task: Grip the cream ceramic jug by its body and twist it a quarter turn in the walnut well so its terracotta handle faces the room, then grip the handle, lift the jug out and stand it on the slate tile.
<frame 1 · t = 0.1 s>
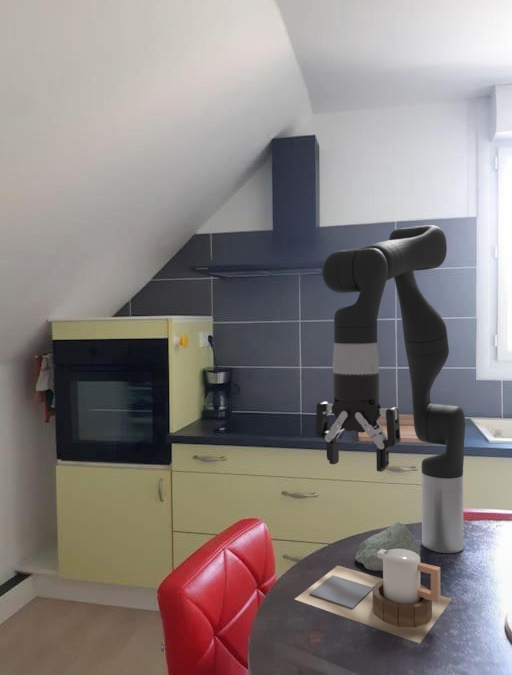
hand: (356, 466, 90), 29 cm above the table, tool pointing down, fingers open, 8 cm apart
decorative stone: (387, 569, 117), on the table
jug: (401, 611, 97), point 1 cm above the table, touching serving board
serving board: (373, 605, 101), on the table
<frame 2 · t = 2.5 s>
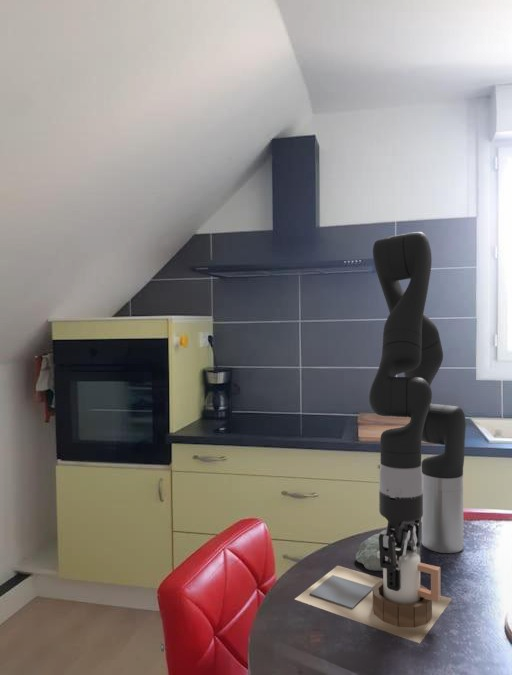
hand: (401, 581, 97), 7 cm above the table, tool pointing down, fingers closed on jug, 6 cm apart
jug: (401, 611, 97), point 1 cm above the table, touching gripper, serving board
everything else where it was.
when the fingers open (7 cm above the table, at t = 5.8 s): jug stays where it is, resting on serving board.
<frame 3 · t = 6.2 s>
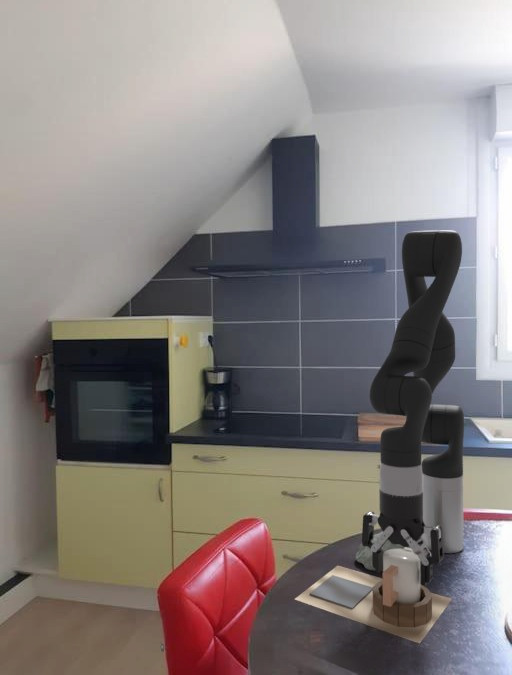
hand: (401, 577, 97), 7 cm above the table, tool pointing down, fingers open, 8 cm apart
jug: (401, 611, 97), point 1 cm above the table, touching serving board
everything else where it was.
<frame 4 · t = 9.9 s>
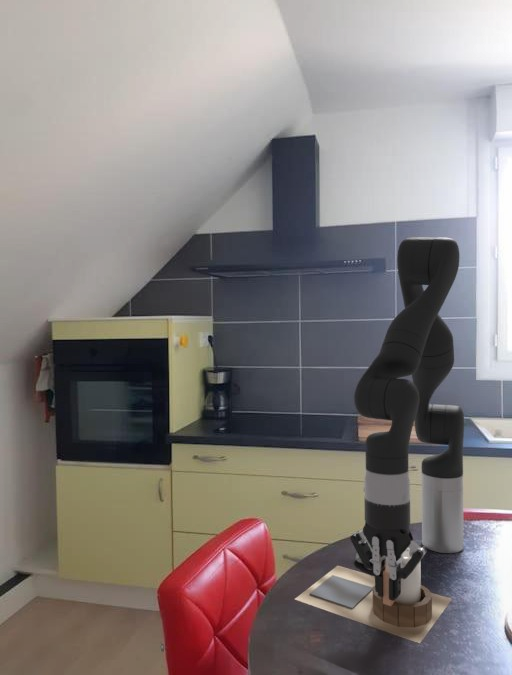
hand: (387, 596, 92), 7 cm above the table, tool pointing down, fingers closed on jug
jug: (402, 611, 97), point 1 cm above the table, touching gripper
everything else where it was.
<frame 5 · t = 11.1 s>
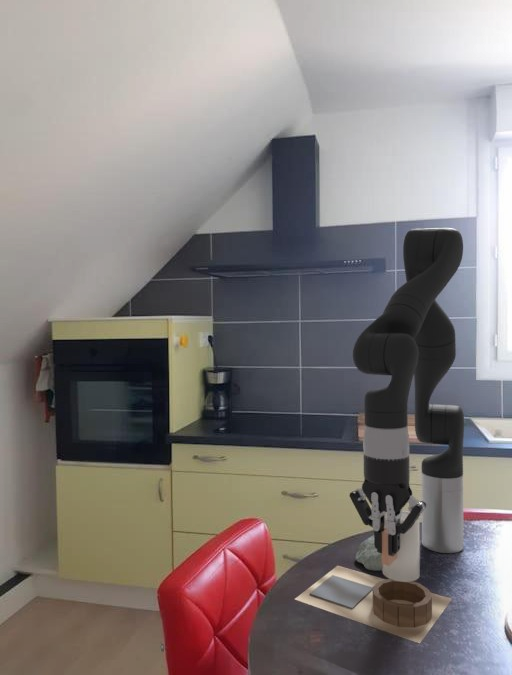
hand: (387, 552, 92), 14 cm above the table, tool pointing down, fingers closed on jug
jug: (400, 573, 97), point 8 cm above the table, touching gripper
everything else where it was.
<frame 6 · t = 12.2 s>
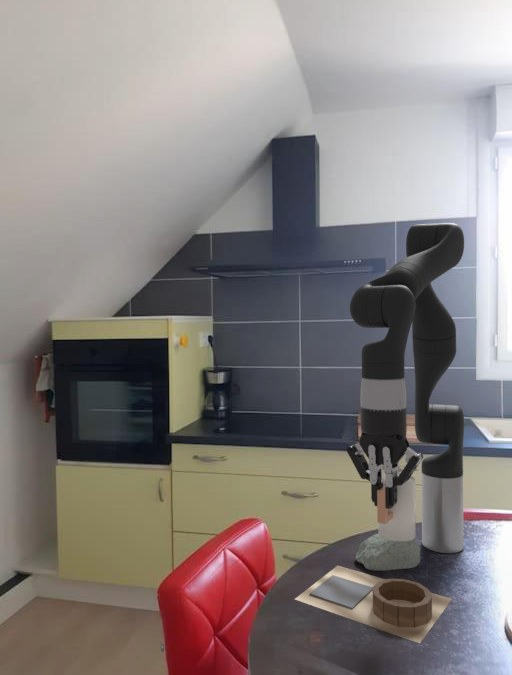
hand: (384, 505, 92), 22 cm above the table, tool pointing down, fingers closed on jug
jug: (396, 534, 96), point 15 cm above the table, touching gripper
everything else where it was.
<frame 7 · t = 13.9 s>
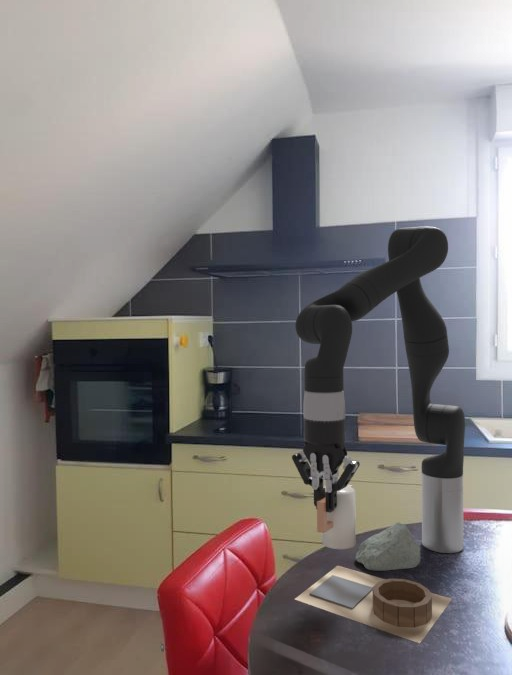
hand: (325, 509, 99), 19 cm above the table, tool pointing down, fingers closed on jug
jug: (338, 542, 103), point 11 cm above the table, touching gripper
everything else where it was.
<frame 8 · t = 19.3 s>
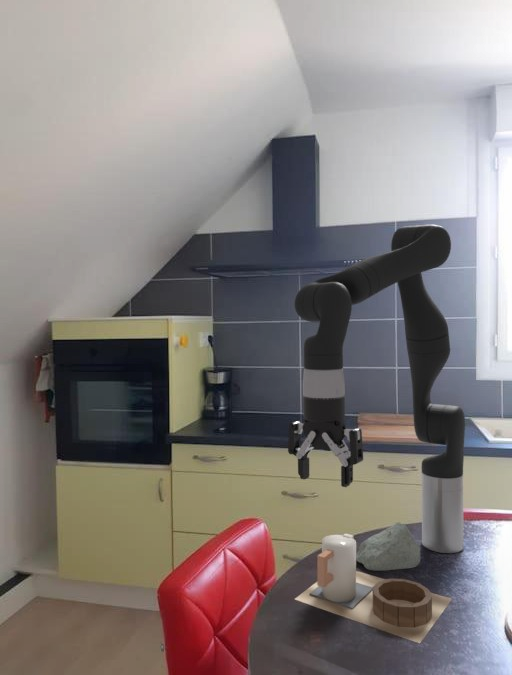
hand: (324, 482, 98), 24 cm above the table, tool pointing down, fingers open, 8 cm apart
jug: (338, 593, 103), point 2 cm above the table, touching serving board
everything else where it was.
at the end: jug inside the target area (1.4 cm from its centre), point 1.5 cm above the table; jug tilted 1°; the gripper is holding nothing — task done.
